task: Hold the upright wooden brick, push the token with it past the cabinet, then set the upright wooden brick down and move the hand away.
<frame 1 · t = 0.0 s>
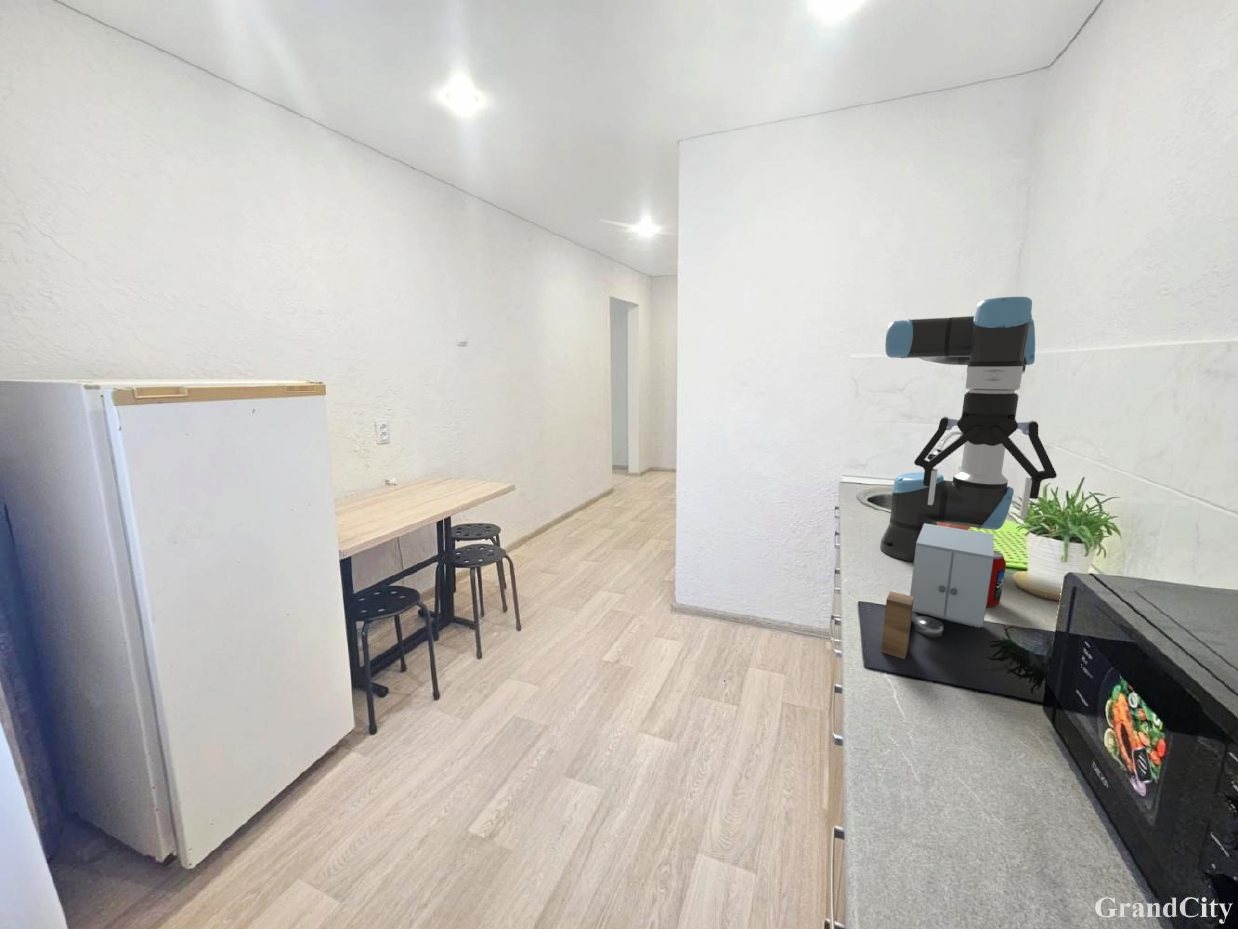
hand: (974, 509, 88), 28 cm above the countertop, fingers open, 13 cm apart
upright wooden brick: (894, 650, 94), on the countertop
beverage can: (980, 602, 112), on the countertop
token: (928, 631, 100), on the countertop
cabinet: (943, 629, 100), on the countertop
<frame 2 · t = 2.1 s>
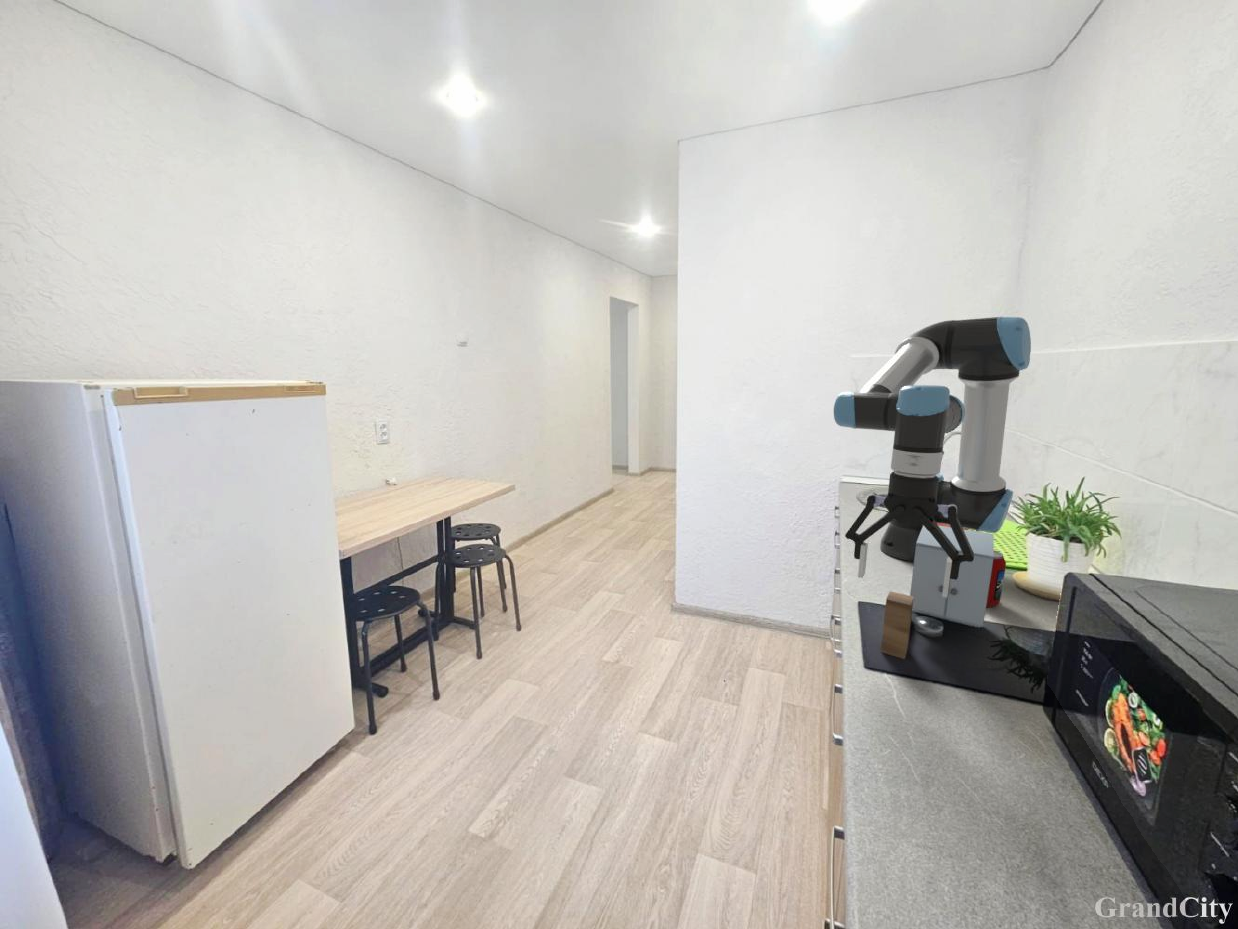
hand: (901, 584, 90), 14 cm above the countertop, fingers open, 13 cm apart
nothing on the countertop moved.
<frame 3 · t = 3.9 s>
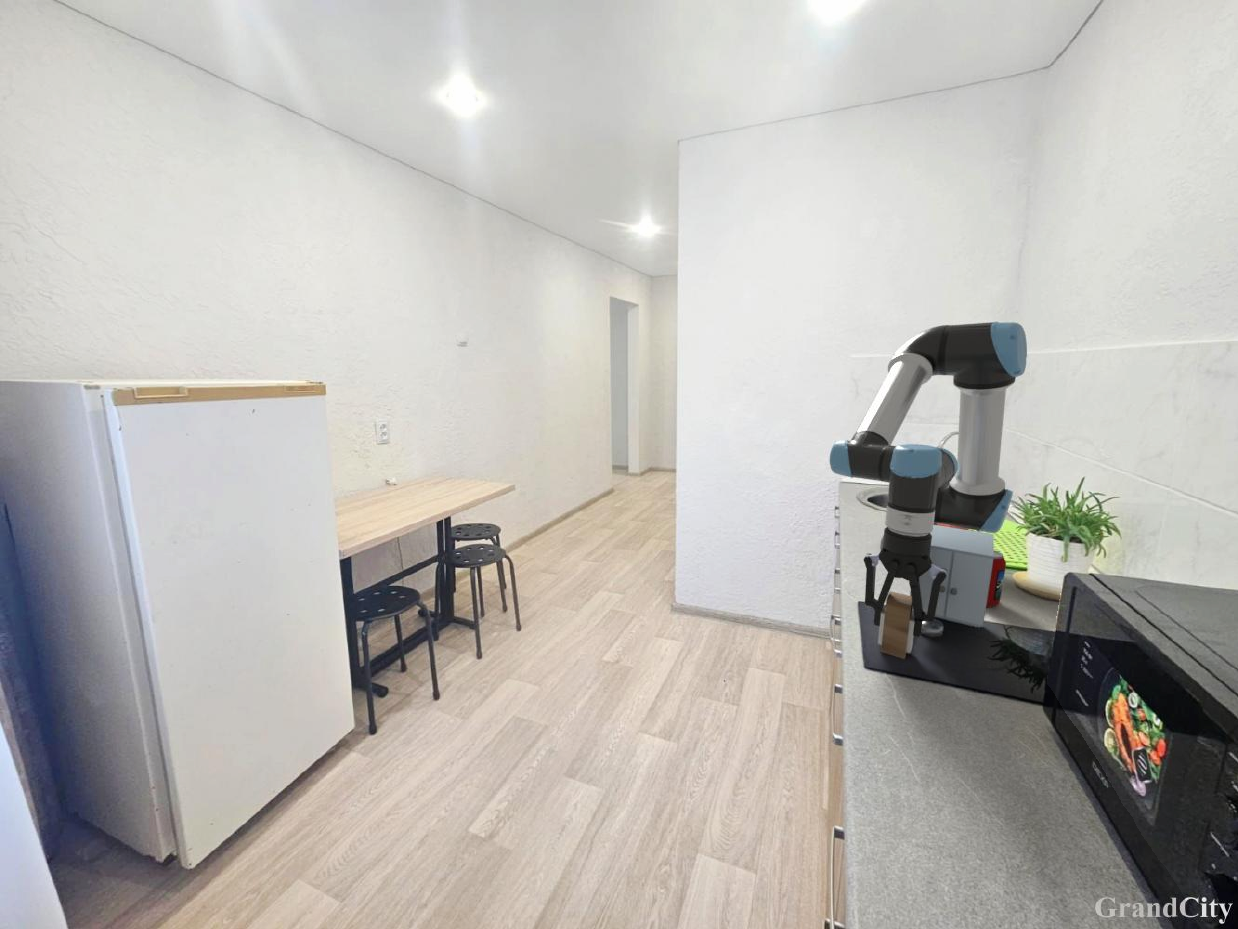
hand: (894, 645, 93), 1 cm above the countertop, fingers closed on upright wooden brick, 4 cm apart
upright wooden brick: (894, 650, 94), on the countertop, touching gripper
everything else where it was.
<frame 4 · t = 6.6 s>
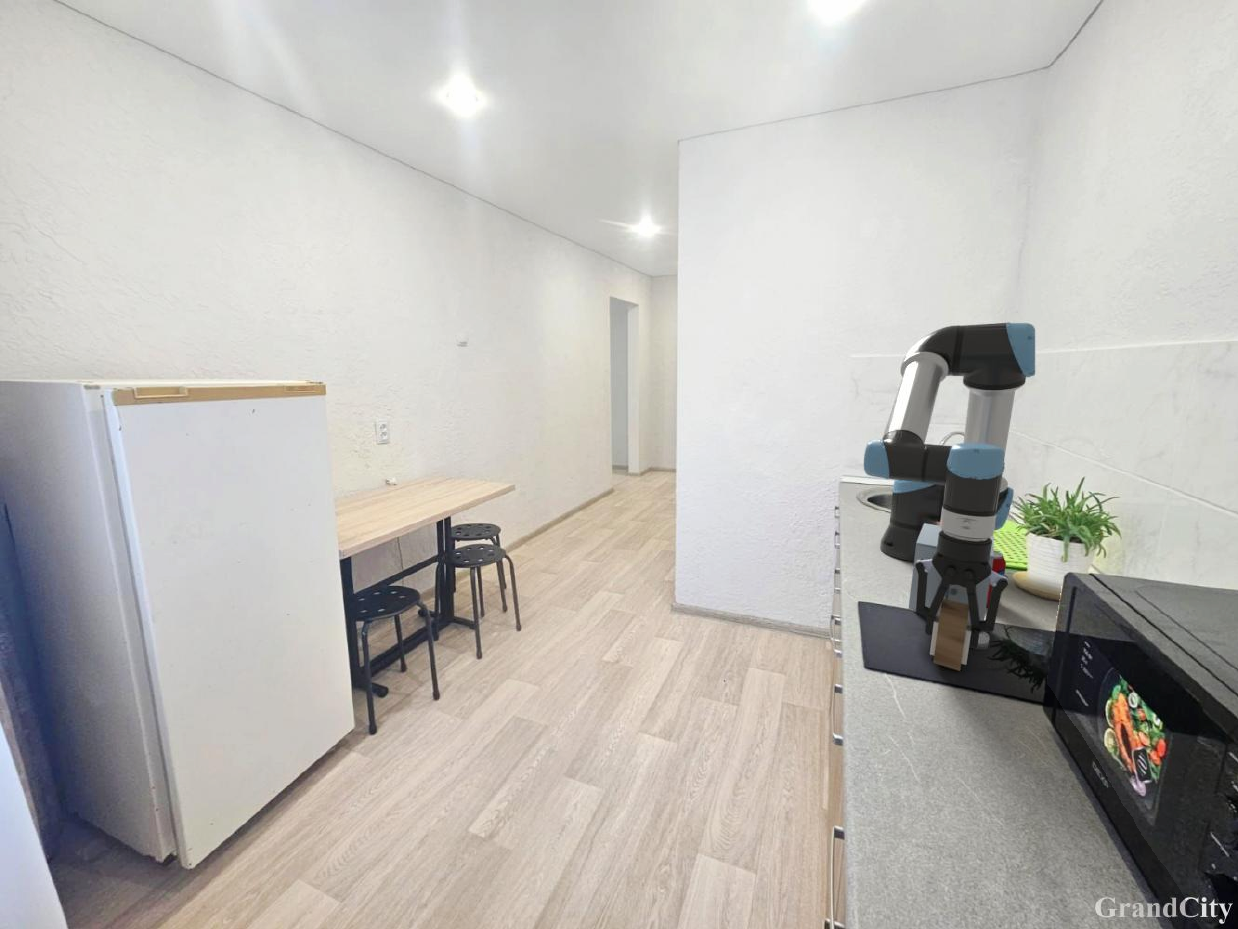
hand: (948, 655, 88), 2 cm above the countertop, fingers closed on upright wooden brick, 4 cm apart
upright wooden brick: (947, 661, 88), point 1 cm above the countertop, touching gripper, token
token: (972, 642, 96), on the countertop, touching upright wooden brick
everything else where it was.
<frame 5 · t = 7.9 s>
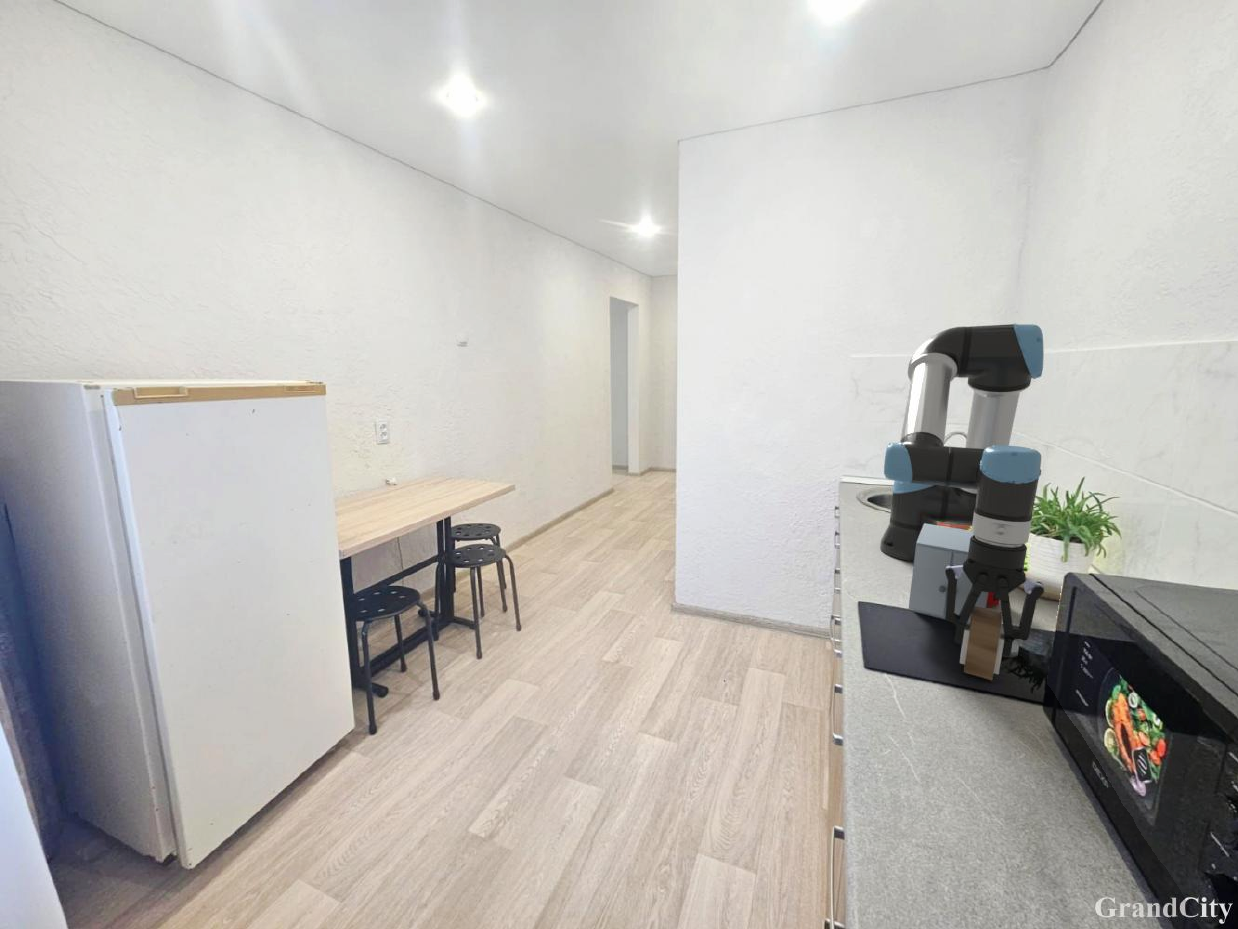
hand: (978, 664, 86), 2 cm above the countertop, fingers closed on upright wooden brick, 4 cm apart
upright wooden brick: (978, 670, 86), point 1 cm above the countertop, touching gripper
token: (1000, 650, 93), on the countertop
everything else where it was.
when the fingers open (2 cm above the countertop, at t = 8.8 s): upright wooden brick stays where it is, on the countertop.
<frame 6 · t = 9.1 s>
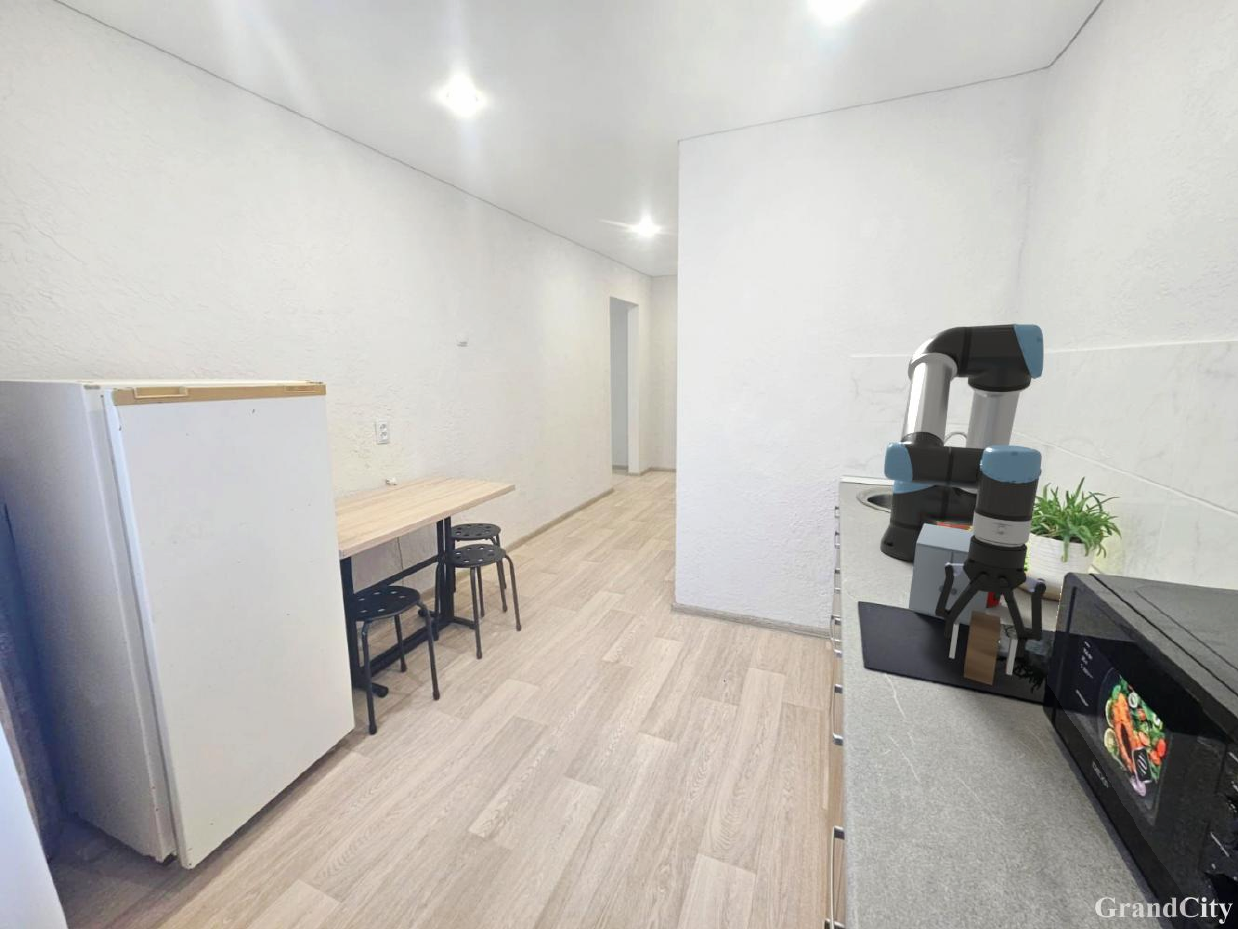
hand: (979, 662, 85), 3 cm above the countertop, fingers open, 7 cm apart
upright wooden brick: (977, 675, 86), on the countertop
everything else where it was.
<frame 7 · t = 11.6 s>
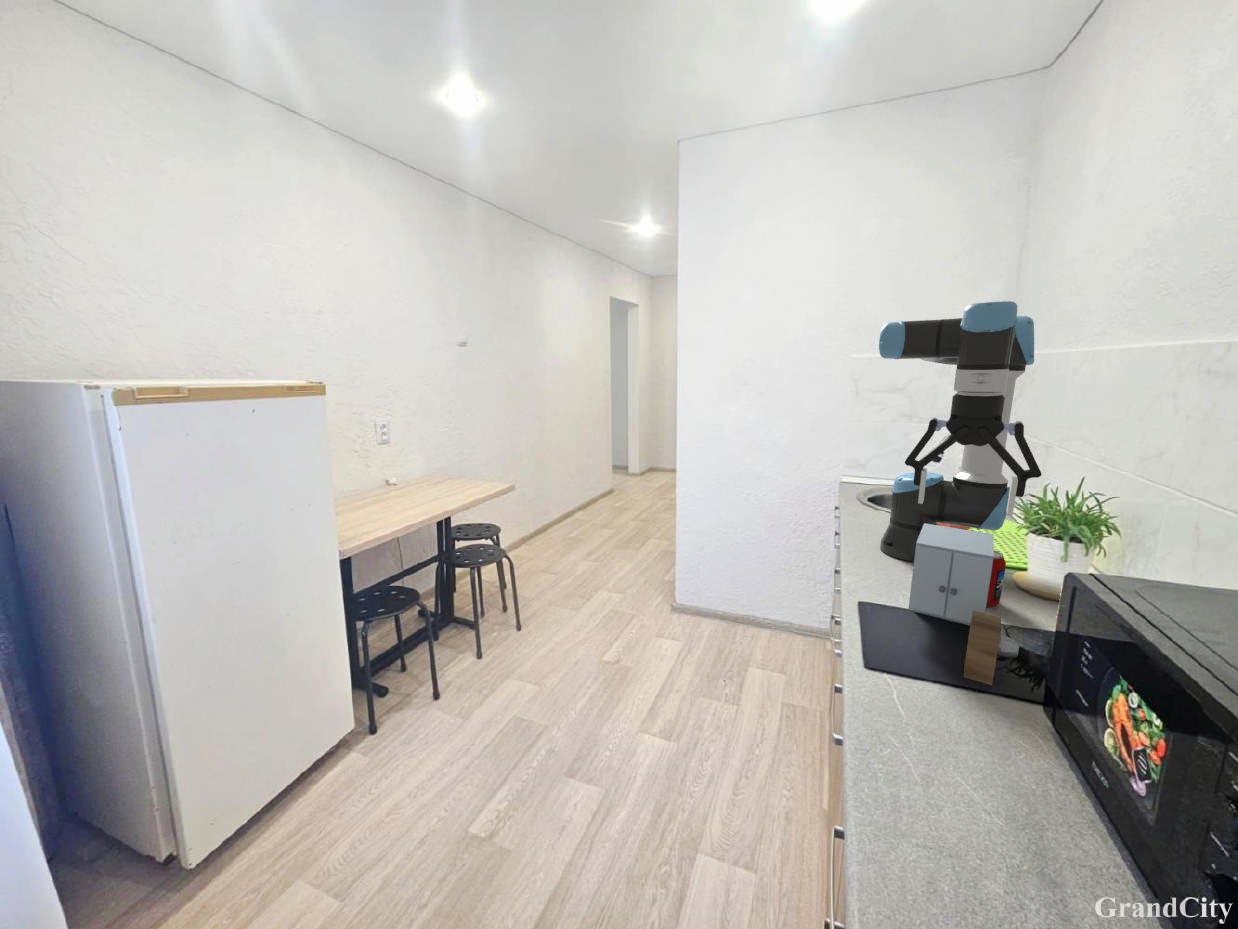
hand: (963, 507, 91), 28 cm above the countertop, fingers open, 13 cm apart
nothing on the countertop moved.
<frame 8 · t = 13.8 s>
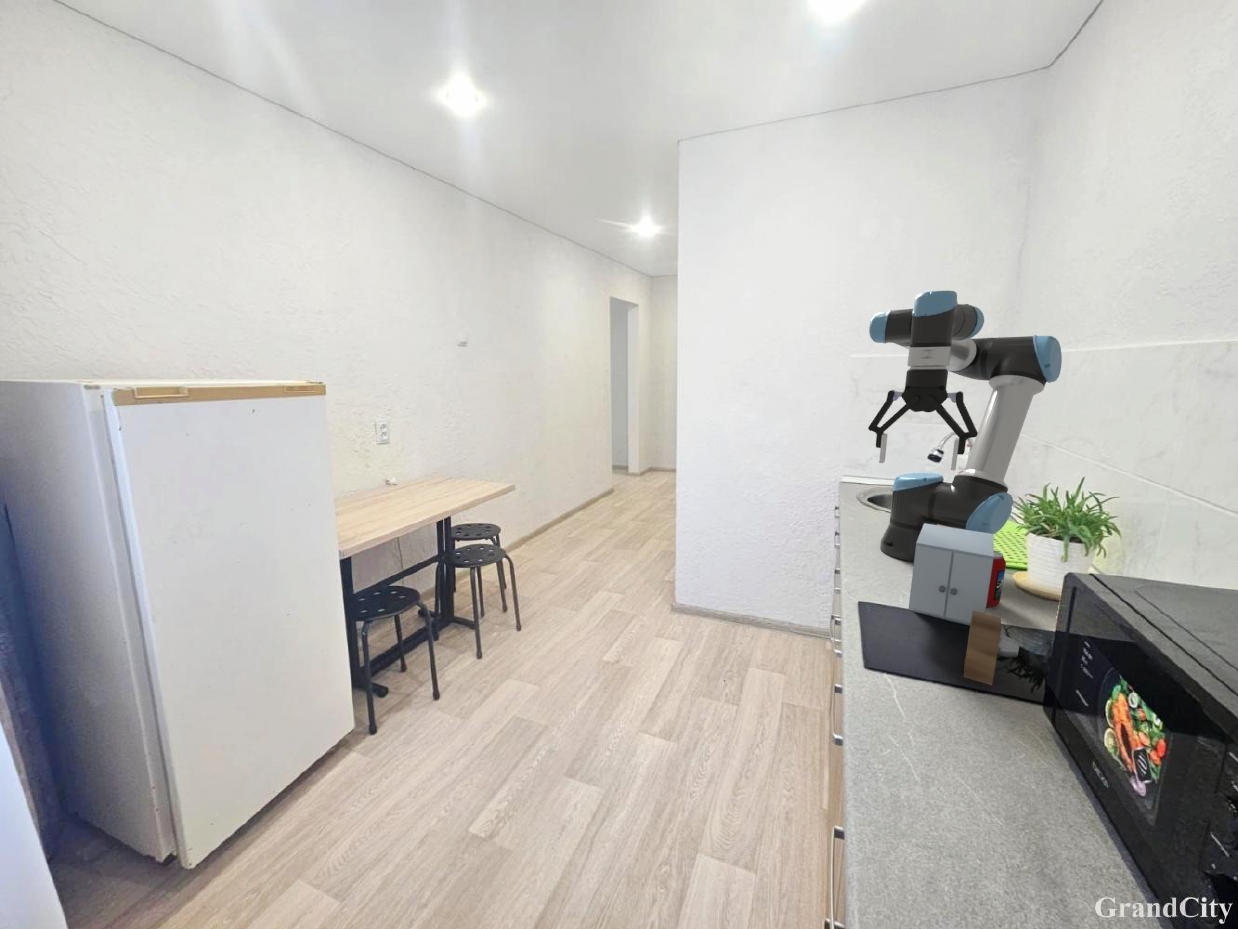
hand: (916, 465, 108), 32 cm above the countertop, fingers open, 13 cm apart
nothing on the countertop moved.
at the end: token inside the target area (2.5 cm from its centre), on the countertop; token moved 11.9 cm from its start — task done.
